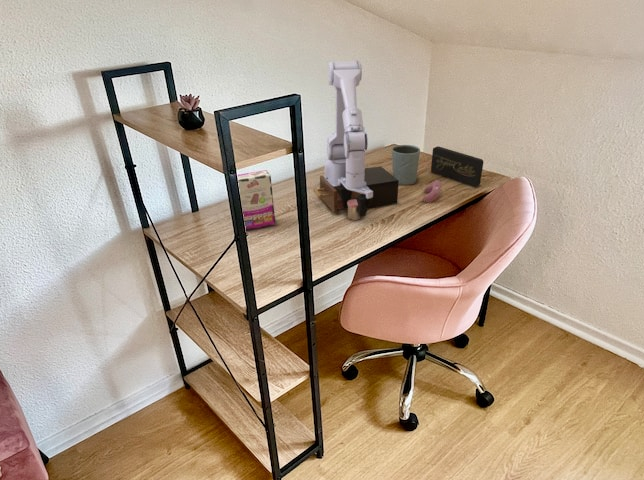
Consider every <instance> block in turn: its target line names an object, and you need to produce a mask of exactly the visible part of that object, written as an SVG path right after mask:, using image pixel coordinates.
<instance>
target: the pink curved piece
mask: <svg viewBox="0 0 644 480" xmlns="http://www.w3.org/2000/svg"><path fill="white" fill-rule="evenodd" d="M442 185H443V182H442V181H441V180H437V179H436V180H434V181H433V182H432V183H430V184H427V185H426V186H425V187H424V189H423V192H424V193H427V194H426V195H424V196H423V197H422V201H423V203H430V202H432V201H435V199H437V198H438V197H441V195H442V189H441V188H442Z"/></svg>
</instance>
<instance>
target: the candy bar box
mask: <svg viewBox="0 0 644 480" xmlns="http://www.w3.org/2000/svg"><path fill="white" fill-rule="evenodd" d="M237 175H238V183H239V189H240V197H241V202H242V208H243V214H244V222H245V226H246V231H250V230H256V229H262V228H265V227H270V226H275V225H276V217H275V205H274V196H273V195H274V194H273V185H272V175H271V174H270V173H269V172H268V170H266V169H265V170H258V171H251V172H245V173H239V174H237Z"/></svg>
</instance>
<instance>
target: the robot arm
mask: <svg viewBox="0 0 644 480" xmlns="http://www.w3.org/2000/svg"><path fill="white" fill-rule="evenodd" d="M327 72H328V73H327V75H328V85H329V86H333V88H334V91H335V95H334V97H335V103H334V104H335V105H334V109H335V111H334V113H335V115H334V116H335V118H334V119H335V122H334V123H335V124H334V125H335V127H334V128H335V129H334V133H332V134H331V135H330V136H328V137H327V142H326V156H327V159H326V160H325V163H324V178H325V179H326V180H327V181H328V182H329V183H330V184H331V185H332V186H339V185H340V187H337V191H338V192H339V194H340V196H341V199H342V203H343V206H344V208H343V209H344V210H347V209H348V205H347V202H348V201H349V200H351V195H352V191H355V192H358V193H360V194H361V196H358V197H356V200H357V203H358V208H359V217H361V218H363V217H365V216H366V215H367V211H368V206H369V204H370V202H371V201H372V199H373V198H374V195H373V191H372V190H370V189H369V188H368V187H367V186H366V182H365V181H364V176H365V168H366V151H367V150H368V146H369V145H368V144H369V138H368V133H367V130H366V127H365V126H364V121H363V114H362V110H361V109H360V108H359V107H358V104H357V102H358V101H357V87H358V86H360V82H361V81H362V78H363V77H362V76H363V68H362V62H361V61H360V60H354V61H353V60H352V61H329V63H328V67H327Z"/></svg>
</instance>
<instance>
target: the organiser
mask: <svg viewBox="0 0 644 480" xmlns="http://www.w3.org/2000/svg"><path fill="white" fill-rule="evenodd" d="M364 181H365V182H366V186H367V187H368V188H369V189H370V190H372V191H373V195H374V198H373V199H372V201H371V202H370V204H369V206H368V209H374V208H380V207H386V206H391V205H397V204H398V199H399V198H398V197H399V184H398V182H399V180H398V179H396V178H395V177H394V176H393V174H392V173H390V172H389V171H388V170H386V169H385V168H384V167H382V166H380V165H379V166H373V167H372V166H371V167H365V176H364ZM368 209H367V210H368Z"/></svg>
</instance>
